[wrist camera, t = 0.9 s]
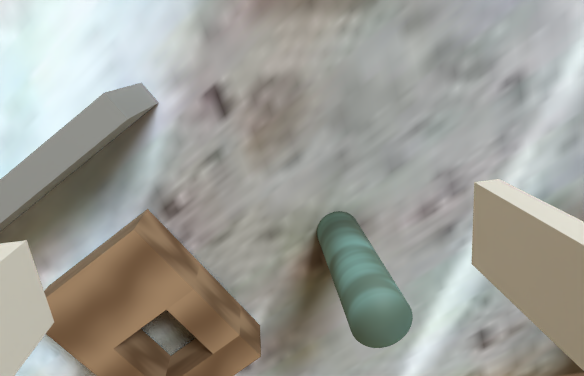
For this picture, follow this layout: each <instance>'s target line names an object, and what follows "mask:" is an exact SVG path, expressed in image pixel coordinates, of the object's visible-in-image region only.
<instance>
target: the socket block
mask: <svg viewBox="0 0 584 376" xmlns="http://www.w3.org/2000/svg"><path fill="white" fill-rule="evenodd" d="M44 293H45V296H46V299H47V302H48V305H49V308H50V311H51V314H52V317H53V320H54V323H53V324H52V326H51V327H50V328H49V330H48V331H47V333H46V334H47V335H48V336H49V337H51V338H52V339H53V340H54V341H55V342H57V343H58V344H59V345H60V346H61V347H63V348H64V349H65V350H66V351H68V352H69V353H70V354H71V355H72V356H74V357H75V358H76V359H77V360H79V361H80V362H81V363H82V364H83V365H85V366H86V367H87V368H88V369H89V370H91V371H92V372H93V373H94V374H96V375H97V376H234V375H235V374H236V373H238V372H239V371H241V370H242V369H244V368H245V367H246V366H248V365H249V364H251V363H252V362H254V361H255V360H257V359H258V358H259V357H261V344H260V325H259V324H258V323H257V322H256V321H255V320H254V319H253V318H252V317H251V316H250V315H249V314H248V313H247V311H246V310H245V309H244V308H243V307H242V306H241V305H240V304H239V303H238V302H237V301H236V300H235V299H234V298H233V297H232V296H231V295H230V294H229V293H228V292H227V291H226V290H225V289H224V288H223V287H222V286H221V285H220V284H219V282H218V281H217V280H216V279H215V278H214V277H213V276H212V275H211V274H210V273H209V272H208V271H207V270H206V269H205V268H204V267H203V266H202V265H201V264H200V263H199V262H198V261H197V260H196V259H195V258H194V257H193V256H192V255H191V253H190V252H189V251H188V250H187V249H186V248H185V247H184V246H183V245H182V244H181V243H180V242H179V241H178V240H177V239H176V238H175V237H174V236H173V235H172V234H171V233H170V232H169V231H168V230H167V229H166V228H165V227H164V226H163V224H162V223H161V222H160V221H159V220H158V219H157V218H156V217H155V216H154V215H153V214H152V213H151V212H150V211H149V210H148V209H147V210H146V211H144V212H143V213H142V214H140V215H139V216H138V217H137V218H135V219H134V220H133V221H131V222H130V223H129V224H128V225H126V226H125V227H124V228H122V229H121V230H120V231H119V232H117V233H116V234H115V235H114V236H112V237H111V238H110V239H108V240H107V241H106V242H105V243H103V244H102V245H101V246H99V247H98V248H97V249H96V250H94V251H93V252H92V253H90V254H89V255H88V256H87V257H85V258H84V259H83V260H81V261H80V262H79V263H78V264H76V265H75V266H74V267H72V268H71V269H70V270H69V271H67V272H66V273H65V274H63V275H62V276H61V277H60V278H58V279H57V280H56V281H54V282H53V283H52V284H51V285H49V286H48V287H47V289H46V290H45V291H44ZM165 310H167V311H168V312H170V313H171V314H172V315H173V316H174V317H175V318H176V319H177V320H178V321H179V322H180V323H181V324H182V325H183V326H184V327H185V328H186V329H187V330H188V331H190V332H191V333H192V334H193V335H194V336H195V337H196V338H195V339H194V340H192V341H191V342H190V343H188V344H187V345H185V346H184V347H183V348H181V349H180V350H178V351H177V352H176V353H174V354H173V355H172V356H170V355H169V354H168V353H167V352H166V351H165V350H164V349H163V348H161V347H160V346H159V345H158V344H157V343H156V342H155V341H154V340H153V339H151V338H150V337H149V336H148V335H147V334H146V333H145V332H144V331H143V330H142V329H141V328H142V327H143V326H145V325H146V324H147V323H149V322H150V321H152V320H153V319H154V318H156V317H157V316H158V315H160V314H161V313H162V312H164V311H165Z"/></svg>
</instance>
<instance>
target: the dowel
mask: <svg viewBox="0 0 584 376" xmlns="http://www.w3.org/2000/svg"><path fill="white" fill-rule="evenodd" d="M317 237H318V240H319V243H320V245H321V248H322V251H323V254H324V256H325V259H326V262H327V265H328V268H329V270H330V273H331V276H332V279H333V282H334V284H335V287H336V290H337V293H338V295H339V298H340V301H341V304H342V307H343V309H344V312H345V315H346V318H347V321H348V323H349V326H350V329H351V332H352V334H353V336H354V337H355V339H356V340H357V341H358V342H360V343H361V344H363V345H365V346H368V347H372V348H382V347H387V346H390V345H393V344H395V343H396V342H398V341H399V340H401V339H402V338H403V337H404V336H405V335H406V334H407V332H408V331H409V329H410V327H411V324H412V311H411V308H410V306H409V304H408V303H407V301H406V300H405V298H404V296H403V295H402V293H401V292H400V290H399V288H398V287H397V285H396V284H395V282H394V280H393V279H392V277H391V276H390V274H389V272H388V271H387V269H386V268H385V266H384V264H383V263H382V261H381V260H380V258H379V256H378V255H377V253H376V252H375V250H374V248H373V247H372V245H371V244H370V242H369V240H368V239H367V237H366V236H365V234H364V232H363V231H362V229H361V228H360V226H359V224H358V223H357V221H356V220H355V218H354V217H353V216H352V215H350V214H348V213H346V212H340V211H338V212H333V213H330V214H328V215H326V216H325V217H324V218H323V219H322V220H321V221H320V223H319V225H318V228H317Z"/></svg>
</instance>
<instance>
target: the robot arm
mask: <svg viewBox="0 0 584 376" xmlns="http://www.w3.org/2000/svg"><path fill="white" fill-rule="evenodd" d="M472 265H473V266H474V267H476V268H477V269H478V270H479V271H480V272H481V273H482V274H483V275H484V276H485V277H486V278H487V279H488V280H489V281H490V282H491V283H492V284H493V285H494V286H495V287H496V288H497V289H498V290H500V291H501V292H502V293H503V294H504V295H505V296H506V297H507V298H508V299H509V300H510V301H511V302H512V303H513V304H514V305H515V306H516V307H517V308H518V309H519V310H520V311H521V312H522V313H524V314H525V315H526V316H527V317H528V318H529V319H530V320H531V321H532V322H533V323H534V324H535V325H536V326H537V327H538V328H539V329H540V330H541V331H542V332H543V333H544V334H545V335H546V336H548V337H549V338H550V339H551V340H552V341H553V342H554V343H555V344H556V345H557V346H558V347H559V348H560V349H561V350H562V351H563V352H564V353H565V354H566V355H567V356H568V357H569V358H570V359H572V360H573V361H574V362H575V363H576V364H577V365H578V366H579V367H580V368H581V369H582V370H583V371H584V222H583V221H581V220H579V219H577V218H575V217H573V216H571V215H569V214H567V213H565V212H563V211H561V210H559V209H557V208H555V207H553V206H551V205H549V204H547V203H545V202H544V201H542V200H540V199H538V198H536V197H534V196H532V195H530V194H528V193H526V192H524V191H522V190H520V189H518V188H516V187H514V186H512V185H510V184H508V183H506V182H504V181H502V180H500V179H496V180H488V181H480V182H474V210H473V239H472ZM53 323H54V320H53V317H52V314H51V311H50V308H49V305H48V302H47V299H46V296H45V293H44V290H43V287H42V284H41V281H40V278H39V275H38V272H37V269H36V266H35V263H34V260H33V257H32V254H31V251H30V248H29V245H28V242H27V240H24V241H17V242H9V243H1V244H0V376H14V375H15V374H16V373H17V371H18V370H19V369H20V367H21V366H22V365H23V363H24V362H25V361H26V359H27V358H28V357H29V355H30V354H31V353H32V351H33V350H34V349H35V347H36V346H37V345H38V343H39V342H40V341H41V339H42V338H43V337H44V335H45V334H46V333H47V331H48V330H49V328H50V327H51V326H52V324H53Z"/></svg>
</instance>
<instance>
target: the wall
mask: <svg viewBox="0 0 584 376" xmlns="http://www.w3.org/2000/svg"><path fill="white" fill-rule="evenodd" d="M157 103H158V101H157V100H156V99H155V98H154V97H153V96H152V94H151V93H150V92H149V91H148V90H147V89H146V87H145V86H144V85H143V84H142V83H139V84H135V85H131V86H128V87H124V88H120V89H117V90H113V91H109V92H106V93H103V94H102V95H101V96H100V97H99V98H97V99H96V100H95V101H94V102H93V103H91V104H90V105H89V106H88V107H87V108H85V109H84V110H83V111H82V112H81V113H80V114H78V115H77V116H76V117H75V118H74V119H72V120H71V121H70V122H69V123H68V124H66V125H65V126H64V127H63V128H62V129H60V130H59V131H58V132H57V133H56V134H54V135H53V136H52V137H51V138H50V139H48V140H47V141H46V142H45V143H44V144H42V145H41V146H40V147H39V148H38V149H36V150H35V151H34V152H33V153H32V154H30V155H29V156H28V157H27V158H26V159H24V160H23V161H22V162H21V163H20V164H18V165H17V166H16V167H15V168H14V169H12V170H11V171H10V172H9V173H8V174H6V175H5V176H4V177H3V178H2V179H0V231H2V230H3V229H4V228H5V227H7V226H8V225H9V224H10V223H11V222H13V221H14V220H15V219H16V218H18V217H19V216H20V215H21V214H22V213H24V212H25V211H26V210H27V209H29V208H30V207H31V206H32V205H33V204H35V203H36V202H37V201H38V200H40V199H41V198H42V197H43V196H45V195H46V194H47V193H48V192H49V191H51V190H52V189H53V188H54V187H56V186H57V185H58V184H59V183H60V182H62V181H63V180H64V179H65V178H67V177H68V176H69V175H70V174H72V173H73V172H74V171H75V170H76V169H78V168H79V167H80V166H81V165H83V164H84V163H85V162H86V161H87V160H89V159H90V158H91V157H92V156H94V155H95V154H96V153H97V152H99V151H100V150H101V149H102V148H103V147H105V146H106V145H107V144H108V143H110V142H111V141H112V140H113V139H114V138H116V137H117V136H118V135H119V134H121V133H122V132H123V131H124V130H126V129H127V128H128V127H129V126H130V125H132V124H133V123H134V122H135V121H137V120H138V119H139V118H140V117H141V116H143V115H144V114H145V113H146V112H148V111H149V110H150V109H151V108H153V107H154V106H155V105H156V104H157Z"/></svg>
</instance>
